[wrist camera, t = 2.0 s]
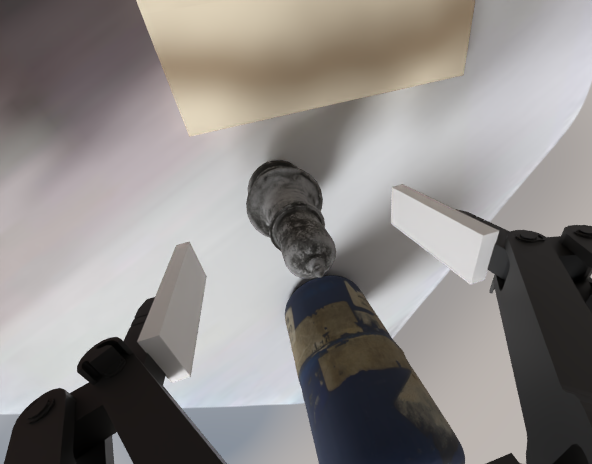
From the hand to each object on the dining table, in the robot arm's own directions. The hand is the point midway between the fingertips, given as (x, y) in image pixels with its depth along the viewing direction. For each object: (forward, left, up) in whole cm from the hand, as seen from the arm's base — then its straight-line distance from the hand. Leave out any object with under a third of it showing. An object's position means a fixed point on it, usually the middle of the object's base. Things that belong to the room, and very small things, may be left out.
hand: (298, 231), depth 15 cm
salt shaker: (0, 0, -7) cm, 7 cm away
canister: (+15, +2, -7) cm, 17 cm away
